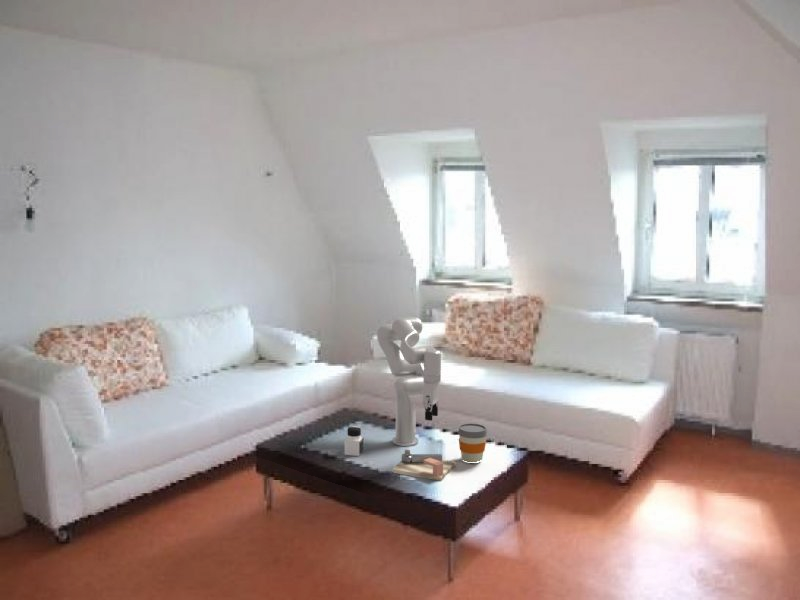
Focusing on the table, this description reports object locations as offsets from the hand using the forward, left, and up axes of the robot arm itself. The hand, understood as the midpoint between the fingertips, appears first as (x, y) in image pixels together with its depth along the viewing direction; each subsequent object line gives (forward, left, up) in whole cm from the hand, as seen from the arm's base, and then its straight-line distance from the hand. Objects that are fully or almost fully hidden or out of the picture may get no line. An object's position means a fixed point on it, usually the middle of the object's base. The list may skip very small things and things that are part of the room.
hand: (431, 417), depth 289 cm
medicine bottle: (+5, -35, -20) cm, 41 cm away
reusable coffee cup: (-8, +17, -20) cm, 27 cm away
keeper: (+17, +7, -18) cm, 26 cm away
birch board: (+10, +1, -20) cm, 22 cm away
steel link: (+7, -2, -18) cm, 19 cm away
